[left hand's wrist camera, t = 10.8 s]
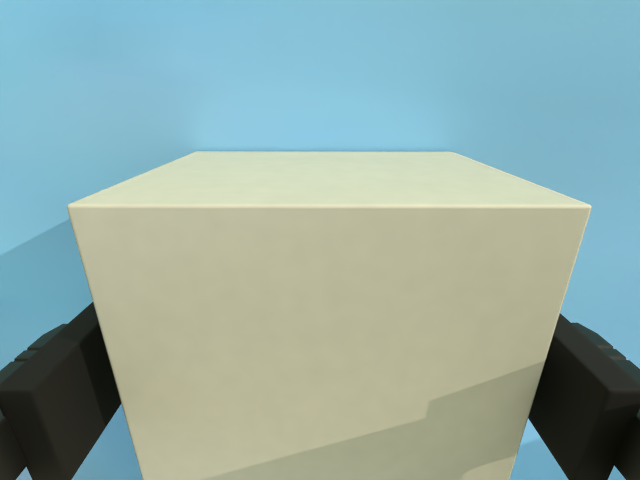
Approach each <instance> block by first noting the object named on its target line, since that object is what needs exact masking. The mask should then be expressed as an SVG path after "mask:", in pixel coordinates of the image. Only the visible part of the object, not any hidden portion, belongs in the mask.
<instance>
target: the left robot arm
mask: <svg viewBox="0 0 640 480" xmlns="http://www.w3.org/2000/svg"><path fill="white" fill-rule="evenodd" d="M120 405H121V399H120V396H119V392H118V389H117V385H116V382H115V378H114V374H113V371H112V367H111V364H110V360H109V356H108V353H107V349H106V346H105V342H104V339H103V335H102V331H101V328H100V324H99V321H98V317H97V314H96V310H95V306H94V303H93V302H92V303H91V304H90V305H89V306H88V307H87V308H85V309H84V310H83V311H82V312H81V313H80V314H79V315H78V316H76V317H75V318H74V319H73V320H72V321H71V322H70V323H68V324H62V325H60V326H58V327H57V328H55V329H53V330H51V331H49V332H47V333H46V334H44V335H42V336H41V337H40V338H39V339H38V340H36V341H35V342H34V343H33V344H32V345H30V346H29V347H28V349H27V351H23V352H22V353H21V354H20V355H19V356H17V357H16V358H15V361H14V362H10V363H9V364H8V365H7V366H6V367H4V368H3V369H2V370H1V371H0V480H16V478H17V477H18V476H19V475H20V474H21V472H22V471H23V470H24V469H25V467H27V469H28V471H29V473H30V475H31V478H32V480H71V479H72V478H73V476H74V475H75V473H76V472H77V470H78V468H79V467H80V465H81V464H82V462H83V461H84V459H85V458H86V456H87V455H88V453H89V452H90V450H91V449H92V447H93V446H94V444H95V443H96V441H97V440H98V438H99V437H100V435H101V433H102V432H103V430H104V429H105V427H106V426H107V424H108V423H109V421H110V420H111V418H112V417H113V415H114V414H115V412H116V411H117V409H118V408H119V406H120ZM528 418H529V420H530V421H531V423H532V424H533V426H534V427H535V429H536V430H537V432H538V434H539V435H540V437H541V438H542V440H543V441H544V443H545V444H546V446H547V447H548V449H549V450H550V452H551V453H552V455H553V456H554V458H555V459H556V461H557V462H558V464H559V465H560V467H561V469H562V470H563V472H564V473H565V475H566V476H567V478H568V479H569V480H608V478H609V475H610V473H611V471H612V469H613V467H614V465H615V467H616V468H617V469H618V470H619V471H620V473H621V474H622V475H623V476H624V478H625V479H626V480H640V369H639V368H638V367H637V366H635V365H634V364H633V363H632V362H631V361H629V360H626V357H625V356H623V355H622V354H621V353H620V352H619V351H617V350H616V349H613V346H612V345H610V344H609V343H608V342H607V341H606V340H604V339H603V338H602V337H601V336H600V335H598V334H597V333H595V332H593V331H592V330H590V329H588V328H586V327H584V326H582V325H580V324H579V323H570V322H569V321H568V320H567V319H566V318H565V317H564V316H562V315H561V314H559V317H558V320H557V324H556V327H555V330H554V334H553V337H552V340H551V343H550V347H549V350H548V353H547V357H546V360H545V363H544V367H543V370H542V373H541V376H540V380H539V383H538V386H537V390H536V393H535V396H534V400H533V403H532V406H531V409H530V413H529V416H528Z"/></svg>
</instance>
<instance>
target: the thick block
mask: <svg viewBox="0 0 640 480" xmlns="http://www.w3.org/2000/svg"><path fill="white" fill-rule="evenodd" d="M67 210H68V213H69V217H70V220H71V224H72V228H73V231H74V235H75V238H76V242H77V246H78V249H79V253H80V256H81V260H82V263H83V267H84V271H85V274H86V278H87V281H88V285H89V288H90V292H91V296H92V299H93V303H94V306H95V310H96V314H97V317H98V321H99V324H100V328H101V331H102V335H103V339H104V342H105V346H106V349H107V353H108V356H109V360H110V364H111V367H112V371H113V374H114V378H115V382H116V385H117V389H118V392H119V396H120V399H121V403H122V407H123V410H124V414H125V417H126V421H127V424H128V428H129V432H130V435H131V439H132V442H133V446H134V450H135V453H136V457H137V460H138V464H139V467H140V471H141V475H142V478H143V480H509V479H510V475H511V472H512V469H513V466H514V462H515V459H516V456H517V452H518V449H519V446H520V442H521V439H522V436H523V433H524V429H525V426H526V423H527V419H528V416H529V413H530V409H531V406H532V403H533V400H534V396H535V393H536V390H537V386H538V383H539V380H540V376H541V373H542V370H543V367H544V363H545V360H546V357H547V353H548V350H549V347H550V343H551V340H552V337H553V334H554V330H555V327H556V324H557V320H558V317H559V314H560V310H561V307H562V304H563V301H564V297H565V294H566V291H567V287H568V284H569V281H570V277H571V274H572V271H573V268H574V264H575V261H576V258H577V254H578V251H579V248H580V244H581V241H582V238H583V235H584V231H585V228H586V225H587V221H588V218H589V215H590V211H591V206H590V205H589V204H586V203H584V202H581V201H579V200H576V199H573V198H571V197H568V196H566V195H563V194H561V193H558V192H555V191H553V190H550V189H548V188H545V187H542V186H540V185H537V184H535V183H532V182H529V181H527V180H524V179H522V178H519V177H517V176H514V175H511V174H509V173H506V172H504V171H501V170H498V169H496V168H493V167H491V166H488V165H485V164H483V163H480V162H478V161H475V160H473V159H470V158H467V157H465V156H462V155H460V154H457V153H454V152H245V151H196V152H194V153H191V154H189V155H186V156H184V157H182V158H179V159H177V160H174V161H172V162H170V163H167V164H165V165H162V166H160V167H158V168H155V169H153V170H150V171H148V172H145V173H143V174H141V175H138V176H136V177H133V178H131V179H129V180H126V181H124V182H121V183H119V184H116V185H114V186H112V187H109V188H107V189H104V190H102V191H100V192H97V193H95V194H92V195H90V196H87V197H85V198H83V199H80V200H78V201H75V202H73V203H71V204H68V205H67Z"/></svg>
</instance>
